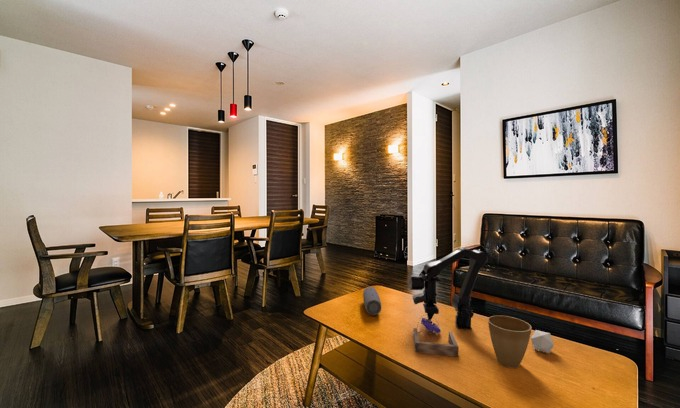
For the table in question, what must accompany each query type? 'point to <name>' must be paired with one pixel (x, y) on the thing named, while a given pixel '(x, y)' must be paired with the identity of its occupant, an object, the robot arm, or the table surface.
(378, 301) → the bluetooth speaker
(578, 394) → the table surface
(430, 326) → the game controller
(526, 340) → the plant pot
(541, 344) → the die
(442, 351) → the docking bay
